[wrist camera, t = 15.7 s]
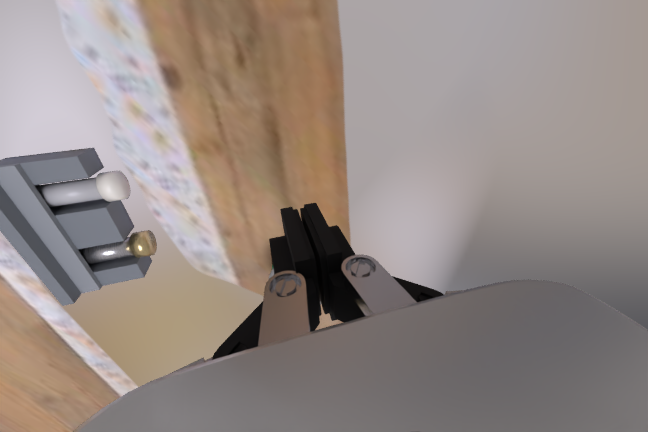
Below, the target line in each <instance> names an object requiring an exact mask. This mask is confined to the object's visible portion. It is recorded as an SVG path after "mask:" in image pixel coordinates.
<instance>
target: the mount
mask: <svg viewBox="0 0 648 432" xmlns="http://www.w3.org/2000/svg"><path fill="white" fill-rule="evenodd" d="M102 168H103V165H102V163H101V161H100V159H99V157H98V155H97V153H96V151H95V149H94V148H88V149H79V150H70V151H62V152H53V153H45V154H37V155H29V156H19V157H11V158H5V159H2V160H0V231H1V232H2V233H3V235H4V236H5V237H6V238H7V240H8V241H9V242H10V243H11V244H12V246H13V247H14V248H15V249H16V250H17V252H18V253H19V254H20V255H21V256H22V258H23V259H24V260H25V261H26V262H27V264H28V265H29V266H30V267H31V268H32V270H33V271H34V272H35V273H36V274H37V276H38V277H39V278H40V279H41V280H42V282H43V283H44V284H45V285H46V286H47V288H48V289H49V290H50V291H51V292H52V294H53V295H54V296H55V297H56V299H57V300H58V301H59V302H60V303H61V304H62V305H63V306H64V305H68V304H73V303H75V302H76V300H77V299H78V297H79V296H80V294H81V293H85V292H90V291H95V290H99V289H100V288H101V287H102V286H103V285H109V284H114V283H118V282H123V281H128V280H132V279H138V278H142V277H144V276H145V274H146V272H147V270H148V268H149V266H150V264H151V262H152V260H151V258H150V256H145V257H140V258H137V257H135V256H128V257H123V258H118V259H113V260H108V261H102V262H97V263H92V264H87V262H86V261H85V259H84V258H83V257H82V255H81V254H80V252H79V251H78V249H82V248H88V247H93V246H99V245H105V244H110V243H116V242H121V241H124V240H125V239H126V238H127V236H128V235H129V233H130V231H131V230H132V229H133V228H134V225H133V223H132V221H131V219H130V217H129V215H128V213H127V211H126V209H125V208H124V206H123V204H122V202H121V200H117V201H111V202H109V201H106V200H105V199H100V200H93V201H86V202H80V203H73V204H67V205H60V206H53V207H48V205H47V204H46V202H45V201H44V199H43V198H42V196H41V195H40V193H39V192H38V190H37V189H36V187H35V186H38V185H39V184H46V183H54V182H61V181H68V180H75V179H83V178H89V177H91V176H92V175H94V174H95V173H96V172H98V171H99V170H101V169H102Z"/></svg>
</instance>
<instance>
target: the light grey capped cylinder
mask: <svg viewBox="0 0 648 432" xmlns="http://www.w3.org/2000/svg"><path fill="white" fill-rule="evenodd" d="M35 187H36V189H37V190H38V192H39V193H40V195H41V196H42V198H43V199H44V201H45V202H46V204H47V205H48V207H53V206H60V205H67V204H73V203H80V202H86V201H93V200H100V199H105V200H106V201H109V202H111V201H117V200H123V199H128V198H129V196H130V186H129V183H128V180H127V178H126V177H125V175H124V174H123V173H122V172H120V171H112V172H106V173H100V174H98V176H97V177H96V178H89V179H82V180H74V181H67V182H60V183H52V184H45V185H38V186H35Z"/></svg>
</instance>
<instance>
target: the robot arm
mask: <svg viewBox="0 0 648 432" xmlns="http://www.w3.org/2000/svg"><path fill="white" fill-rule="evenodd" d="M300 211H301V218H300V215H299V213H298V210H297V209H295V210H293V208H292V207H289V208H283V209H281V216H282V222H283V228H284V233H285V236H281V237H276V238H271V239H269V241H270V248H271V255H272V262H273V269H274V275H273V276H272V277H271V278H269V280H268V281H267V282H266V285H265V290H264V299H263V302H262V303H261V304H260V305H259V306H258V307H257V308H256V309H255V310H254V311H253V312H252V313H251V314H250V315H249V316H248V318H246V320H245V321H244V322H243V323H242V324H241V325H240V326H239V327H238V328H237V329H236V330H235V331H234V332H233V333H232V334H231V335H230V336H229V337H228V338H227V340H225V342H224V343H223V344H222V345H221V346H220V347H219V348H218V349H217V351H216V352H215V353H214V355H213V357H212V358H210V359H207V360H206V361H205V360H204V358H201V359H199V360H198V361H195V362H193V363H191V364H189V365H187V366H185V367H183V368H180V369H178V370H176V371H174V372H172V373H170V374H168V375H166V376H163V377H161V378H158V379H156V380H153V381H150V382H149V383H146V384H145V385H142V386H140V387H138V388H136V389H134V390H132V391H130V392H128V393H127V394H125V395H123V396H122V397H120V398H118V399H117V400H115V401H113V402H112V403H110V404H109V405H107V406H105V407H104V408H102V409H101V410H99V411H98V412H97V413H95V414H94V415H92V416H91V417H90V418H88V419H87V420H86V421H84V422H83V423H82V424H81V425H79V426H78V427H77V428H76V429H75V430H74V431H73V432H648V330H647V329H645V328H644V327H643V326H641V325H639V324H638V323H636V322H635V321H633V320H631V319H630V318H628V317H627V316H625V315H623V314H622V313H620V312H619V311H617V310H615V309H614V308H612V307H610V306H609V305H607V304H605V303H604V302H602V301H600V300H598V299H597V298H595V297H593V296H591V295H589V294H588V293H586V292H584V291H582V290H580V289H577V288H575V287H573V286H570V285H567V284H564V283H559V282H553V281H545V280H529V279H528V280H511V281H504V282H498V283H493V284H488V285H484V286H479V287H475V288H471V289H467V290H461V291H446V293H445V295H443V294H442V293H441V292H438V291H436V290H434V289H430V288H428V287H424V286H421V285H418V284H415V283H412V282H409V281H406V280H402V279H399V278H396V277H393V276H391V275H390V274H389V273H388V272H387V271H386V270H385V269H384V268H383V267H382V266H381V265H380V264H379V263H378V262H377V261H376V260H375V259H374V258H372V257H370V256H367V255H355V253H354V252H353V250H352V248H351V247H350V245H349V243H348V242H347V240H346V238H345V237H344V235H343V233H342V232H341V230H340V228H339V227H338V226H337V225H336V226H331V227H329V226H328V225H327V223H326V221H325V219H324V217H323V215H322V213H321V211H320V210H319V208H318V206H317V204H316V203H311V204H306V205H304V208H300ZM301 219H302V221H301ZM320 301H321V304H322V307H323V310H324V313H325V314H327V313H329V314H330V316H331V319H332V321H333V320H337V319H338V320H340V321H342V322H344V323H340V324H337V325H333V326H329V327H326V328H322V329H319V330H315V329H316V328H317V326H318V325H319V323H320V321H319V316H320V315H321V306H320Z"/></svg>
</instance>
